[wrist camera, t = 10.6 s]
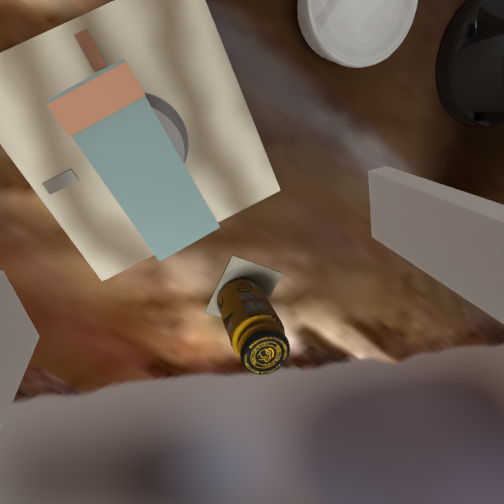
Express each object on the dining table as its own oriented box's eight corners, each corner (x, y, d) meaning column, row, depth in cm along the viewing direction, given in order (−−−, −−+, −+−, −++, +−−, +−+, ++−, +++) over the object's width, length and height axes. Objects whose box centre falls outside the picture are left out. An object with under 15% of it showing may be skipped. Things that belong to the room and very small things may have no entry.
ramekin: (291, -68, 35) (314, -91, 31) (395, -53, 38) (431, -71, 33) (283, 66, 40) (302, 64, 35) (377, 71, 43) (406, 69, 38)
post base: (188, -29, 34) (191, -36, 32) (274, 186, 44) (281, 190, 42) (-40, 76, 33) (-52, 75, 31) (103, 273, 43) (101, 282, 41)
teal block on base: (203, 179, 39) (233, 222, 27) (144, 212, 39) (147, 271, 27) (138, 62, 34) (138, 49, 21) (68, 100, 33) (28, 109, 21)
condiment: (204, 312, 49) (223, 375, 38) (232, 255, 47) (259, 305, 36) (253, 325, 52) (283, 387, 41) (281, 272, 49) (320, 323, 39)
